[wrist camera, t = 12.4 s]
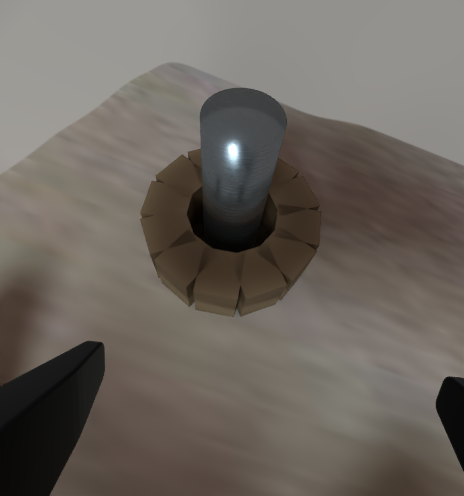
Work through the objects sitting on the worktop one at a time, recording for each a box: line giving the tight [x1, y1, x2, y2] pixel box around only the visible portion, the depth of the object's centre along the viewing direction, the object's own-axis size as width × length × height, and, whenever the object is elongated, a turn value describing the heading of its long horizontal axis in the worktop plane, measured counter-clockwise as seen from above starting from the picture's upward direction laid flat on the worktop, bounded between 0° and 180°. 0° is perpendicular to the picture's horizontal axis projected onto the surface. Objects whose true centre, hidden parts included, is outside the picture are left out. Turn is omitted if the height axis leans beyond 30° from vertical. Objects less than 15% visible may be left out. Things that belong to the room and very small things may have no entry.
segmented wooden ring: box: [140, 149, 321, 317], centre depth 24 cm, size 12×12×4 cm
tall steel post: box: [200, 88, 287, 253], centre depth 20 cm, size 4×4×12 cm
